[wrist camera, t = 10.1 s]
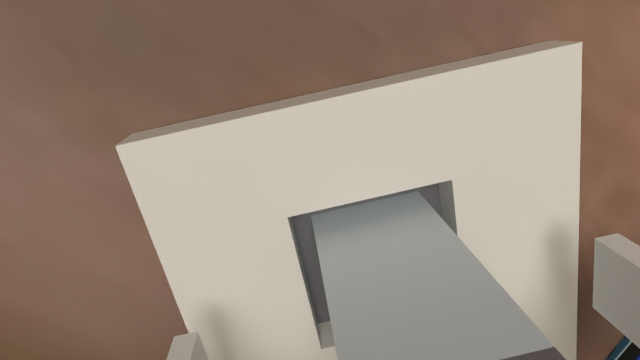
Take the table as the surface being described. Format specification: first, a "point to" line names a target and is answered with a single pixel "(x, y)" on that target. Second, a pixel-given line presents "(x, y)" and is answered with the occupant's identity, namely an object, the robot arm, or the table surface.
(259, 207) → the socket
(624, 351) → the smartphone
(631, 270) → the robot arm
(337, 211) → the plug
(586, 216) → the table surface
